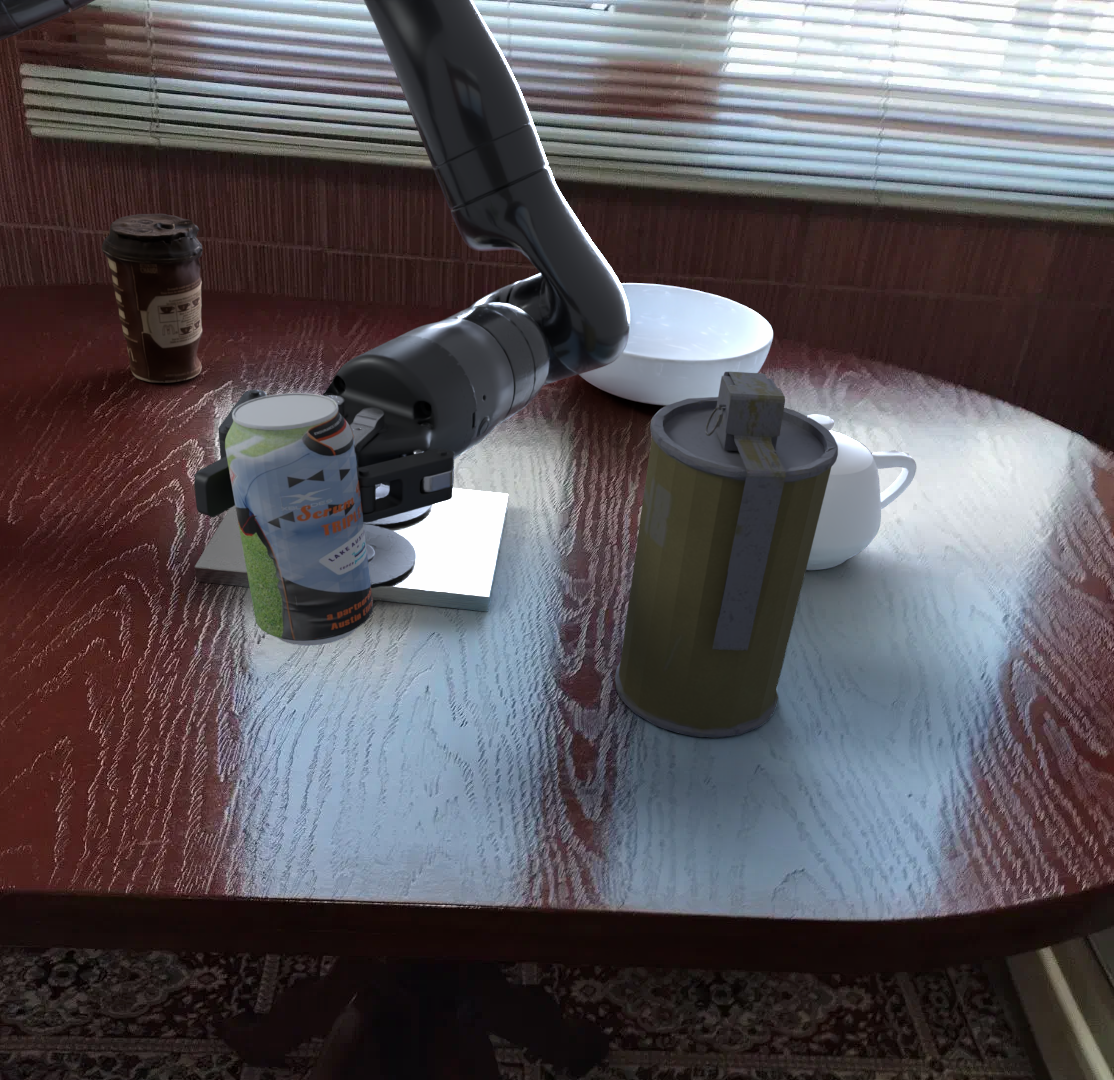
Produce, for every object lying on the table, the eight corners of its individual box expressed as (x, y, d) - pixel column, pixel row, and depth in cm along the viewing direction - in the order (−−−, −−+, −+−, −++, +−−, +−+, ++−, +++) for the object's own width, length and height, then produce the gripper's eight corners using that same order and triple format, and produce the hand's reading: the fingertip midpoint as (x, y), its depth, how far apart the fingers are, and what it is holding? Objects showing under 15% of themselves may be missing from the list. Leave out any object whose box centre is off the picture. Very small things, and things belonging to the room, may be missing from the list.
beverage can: (333, 675, 60) (332, 452, 53) (209, 631, 62) (191, 409, 55) (395, 618, 65) (402, 405, 57) (278, 578, 67) (270, 367, 59)
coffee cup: (235, 370, 112) (224, 223, 104) (177, 397, 106) (161, 244, 98) (160, 349, 115) (143, 204, 107) (98, 374, 109) (76, 223, 101)
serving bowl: (505, 372, 118) (509, 301, 114) (652, 337, 130) (661, 272, 126) (657, 449, 106) (668, 373, 102) (803, 403, 118) (819, 333, 114)
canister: (606, 642, 80) (646, 346, 68) (758, 647, 82) (823, 357, 70) (624, 741, 72) (673, 422, 60) (794, 746, 73) (876, 434, 61)
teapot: (701, 593, 87) (725, 462, 81) (639, 514, 96) (657, 391, 90) (938, 570, 93) (977, 447, 87) (858, 498, 102) (888, 382, 96)
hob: (191, 589, 81) (188, 568, 80) (258, 475, 96) (256, 456, 95) (486, 619, 81) (488, 599, 80) (509, 501, 96) (510, 483, 95)
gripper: (323, 306, 70) (108, 396, 58) (536, 366, 66) (354, 477, 53) (326, 428, 75) (127, 536, 62) (525, 492, 70) (355, 621, 58)
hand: (233, 508), depth 58 cm, fingers closed on beverage can, 3 cm apart
